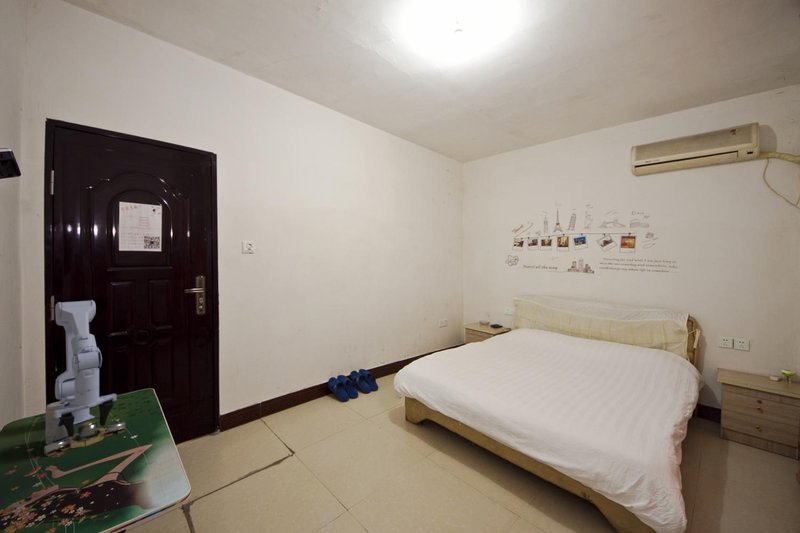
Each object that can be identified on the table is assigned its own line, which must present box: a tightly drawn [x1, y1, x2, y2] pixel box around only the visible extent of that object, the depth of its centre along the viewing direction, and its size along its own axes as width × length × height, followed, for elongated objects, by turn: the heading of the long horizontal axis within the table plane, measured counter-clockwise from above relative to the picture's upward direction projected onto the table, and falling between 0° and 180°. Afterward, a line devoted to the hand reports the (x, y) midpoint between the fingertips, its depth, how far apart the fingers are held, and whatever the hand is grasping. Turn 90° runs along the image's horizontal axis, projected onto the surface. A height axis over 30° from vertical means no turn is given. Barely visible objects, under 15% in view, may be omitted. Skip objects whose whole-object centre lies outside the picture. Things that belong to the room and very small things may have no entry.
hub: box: [77, 420, 98, 441], centre depth 102 cm, size 4×4×5 cm
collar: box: [68, 427, 107, 449], centre depth 102 cm, size 9×9×2 cm
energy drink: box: [45, 400, 70, 445], centre depth 102 cm, size 5×5×12 cm
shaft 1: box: [43, 437, 71, 457], centre depth 96 cm, size 5×3×3 cm
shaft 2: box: [104, 421, 126, 438], centre depth 107 cm, size 5×3×3 cm
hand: (87, 430), depth 102 cm, fingers open, 7 cm apart
